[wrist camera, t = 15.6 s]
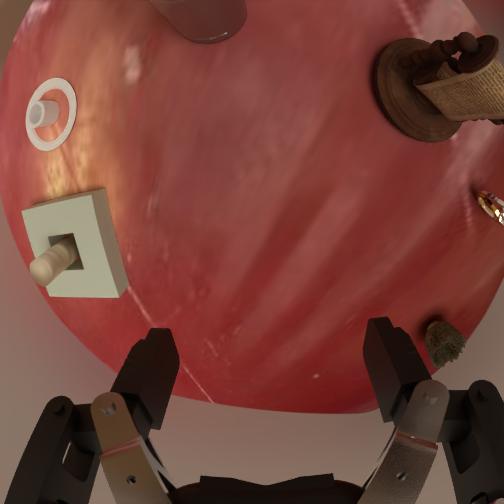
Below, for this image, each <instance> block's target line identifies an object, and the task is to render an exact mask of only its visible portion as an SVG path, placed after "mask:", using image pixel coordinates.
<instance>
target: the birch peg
mask: <svg viewBox="0 0 504 504" xmlns="http://www.w3.org/2000/svg"><path fill="white" fill-rule="evenodd" d="M79 257H80V254H79V251H78V247H77V244H76V241H75V237H74V233H71V234H69V235H68V236H67V237H65V238H64V239H62V240H61V241H59V242H58V243H57V244H55V245H54V246H52V247H51V248H50V249H48V250H47V251H45V252H44V253H43V254H41V255H40V256H39V257H37V258H36V259H35V260H33V261H32V262H31V264H30V272H31V275H32V277H33V279H34V280H35V281H36V282H37V283H38V284H39V285H41V286H47V285H48V284H49V283H51V282H52V281H53V280H54V279H55V278H56V277H57V276H58V275H59V274H60V273H62V272H63V271H64V270H65V269H66V268H67V267H68V266H70V265H71V264H72V263H73V262H74V261H75V260H77V259H78V258H79Z"/></svg>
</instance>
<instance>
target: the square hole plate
mask: <svg viewBox="0 0 504 504" xmlns="http://www.w3.org/2000/svg"><path fill="white" fill-rule="evenodd" d="M22 214H23V218H24V222H25V226H26V229H27V233H28V236H29V240H30V243H31V246H32V249H33V253H34V256H35V259H36V258H37V257H39V256H40V255H41V254H43V253H44V252H45V251H47V250H48V249H50V248H51V247H52V246H54V245H55V244H57V243H58V242H59V241H61V240H62V239H64V236H63V234H69V233H74V237H75V241H76V244H77V247H78V251H79V254H80V257H81V259H80V260H75V261H74V262H73V263H72V264H71V265H70V266H68V267H67V268H66V269H65V270H64V271H63V272H62V273H60V274H59V275H58V276H57V277H56V278H55V279H54V280H53V281H52V282H51V283H49V284H48V285H47V286H46V288H47V291H48V293H49V296H55V297H97V298H120V296H121V295H122V294H123V292H124V291H125V290H126V288H127V287H128V286H129V282H128V278H127V275H126V272H125V268H124V265H123V261H122V258H121V254H120V250H119V246H118V243H117V239H116V235H115V231H114V226H113V222H112V218H111V213H110V209H109V204H108V199H107V194H106V189H105V188H103V189H98V190H93V191H88V192H84V193H79V194H75V195H70V196H66V197H61V198H57V199H53V200H49V201H45V202H41V203H37V204H35V205H33V206H31V207H29V208H27V209H25V210H23V211H22Z"/></svg>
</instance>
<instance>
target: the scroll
mask: <svg viewBox="0 0 504 504" xmlns="http://www.w3.org/2000/svg"><path fill="white" fill-rule="evenodd" d="M499 48H500V43H499V40H498V39H497V38H496V37H495V36H492V35H484V36H481V37H479V38H477V39H476V38H475V37H474V36H473V35H472V34H470V33H468V32H461V33H460V34H459V35H458V36H456V37H454V38H453V40H445V41H442V40H435V41H434V42H433V43H432V44H431V43H429V42H426V41H424V40H420V39H415V38H405V39H400V40H397V41H395V42H393V43H391V44H390V45H388V46H387V47H386V48H385V49H384V50H383V51H382V52H381V54H380V55H379V57H378V59H377V62H376V65H375V70H374V84H375V93H376V94H377V97H378V100H379V103H380V105H381V107H382V109H383V111H384V112H385V114H386V115H387V117H388V118H389V120H390V121H391V122H392V123H393V124H394V125H395V126H396V127H397V128H398V129H399V130H400V131H401V132H403V133H404V134H406V135H407V136H409V137H411V138H413V139H416V140H419V141H424V142H441V141H444V140H446V139H448V138H450V137H451V136H453V135H454V134H455V133H456V132H457V130H458V129H459V128H460V126H461V124H462V122H465V121H467V120H472V121H477V120H478V119H480V120H485V119H488V120H490V121H491V122H492V123H494V124H495V125H501V124H503V125H504V68H503V67H502V65H501V64H500V63H499V61H498V60H497V59H496V58H495V57H496V55H497V53H498V51H499ZM458 51H459V52H462V53H461V55H460V57H459V60H457V59H456V58H453V57H451V56H452V55H454V54H456V53H457V52H458Z"/></svg>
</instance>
